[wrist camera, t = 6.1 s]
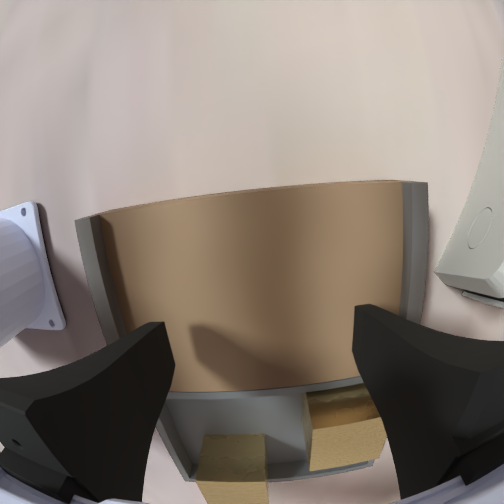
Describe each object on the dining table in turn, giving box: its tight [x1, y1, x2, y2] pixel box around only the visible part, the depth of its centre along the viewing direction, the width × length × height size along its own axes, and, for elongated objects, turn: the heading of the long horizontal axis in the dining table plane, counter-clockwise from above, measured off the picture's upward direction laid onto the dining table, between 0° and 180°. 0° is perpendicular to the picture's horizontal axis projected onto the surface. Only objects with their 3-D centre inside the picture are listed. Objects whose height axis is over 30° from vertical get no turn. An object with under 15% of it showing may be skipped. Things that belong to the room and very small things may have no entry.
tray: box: [156, 376, 375, 482], centre depth 16 cm, size 14×10×2 cm
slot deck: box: [75, 180, 429, 392], centre depth 13 cm, size 14×9×3 cm, turn 96°
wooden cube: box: [195, 434, 269, 504], centre depth 15 cm, size 4×4×4 cm
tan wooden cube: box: [302, 383, 387, 471], centre depth 13 cm, size 4×4×4 cm
